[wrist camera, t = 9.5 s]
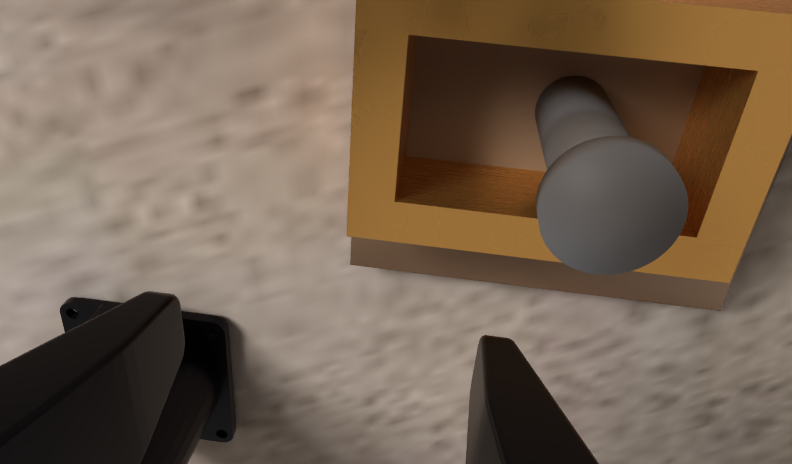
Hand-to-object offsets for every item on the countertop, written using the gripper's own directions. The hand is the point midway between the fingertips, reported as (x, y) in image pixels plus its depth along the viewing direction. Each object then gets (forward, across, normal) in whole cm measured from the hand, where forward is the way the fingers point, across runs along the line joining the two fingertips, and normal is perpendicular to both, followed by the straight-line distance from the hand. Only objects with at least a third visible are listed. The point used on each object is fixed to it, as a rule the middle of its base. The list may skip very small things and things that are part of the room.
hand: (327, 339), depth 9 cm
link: (+11, -4, 0) cm, 12 cm away
